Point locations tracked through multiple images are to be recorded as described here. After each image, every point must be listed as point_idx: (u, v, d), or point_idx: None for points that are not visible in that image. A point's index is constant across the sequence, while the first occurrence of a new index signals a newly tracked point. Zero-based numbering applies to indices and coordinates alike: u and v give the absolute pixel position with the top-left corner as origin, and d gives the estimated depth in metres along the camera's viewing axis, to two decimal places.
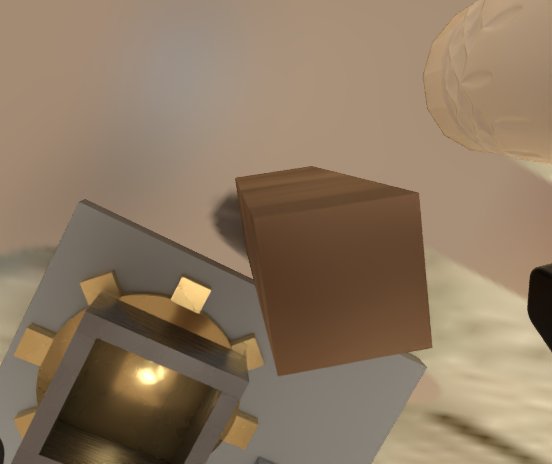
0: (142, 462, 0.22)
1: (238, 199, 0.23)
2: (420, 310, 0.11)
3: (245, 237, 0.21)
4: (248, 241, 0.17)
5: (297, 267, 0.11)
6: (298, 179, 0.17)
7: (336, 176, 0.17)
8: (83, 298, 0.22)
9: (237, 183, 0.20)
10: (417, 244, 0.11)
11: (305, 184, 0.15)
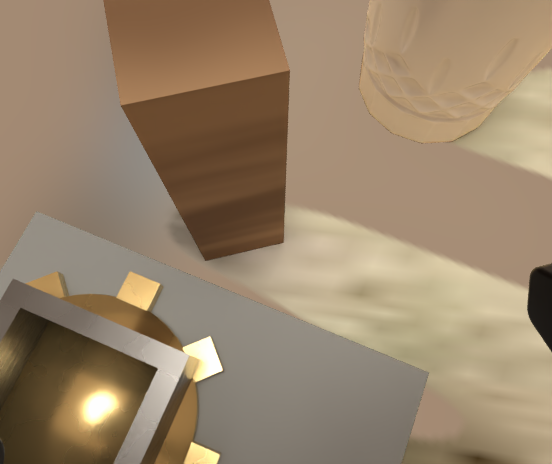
0: None
1: None
2: (270, 36, 0.11)
3: None
4: None
5: (140, 6, 0.11)
6: None
7: None
8: None
9: None
10: None
11: None
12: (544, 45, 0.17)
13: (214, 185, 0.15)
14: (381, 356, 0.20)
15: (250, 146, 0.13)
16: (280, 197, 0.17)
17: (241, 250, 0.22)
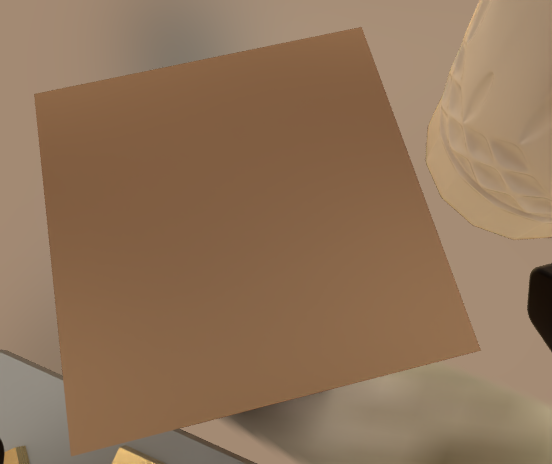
0: None
1: None
2: (423, 256, 0.05)
3: None
4: None
5: (122, 178, 0.05)
6: None
7: None
8: None
9: None
10: (380, 114, 0.05)
11: None
12: None
13: None
14: None
15: None
16: None
17: None
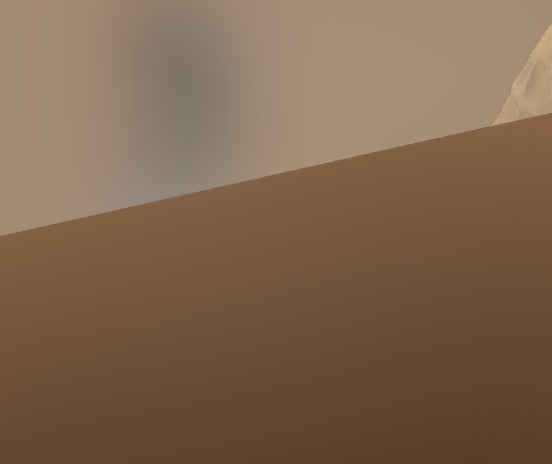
0: None
1: None
2: None
3: None
4: None
5: None
6: None
7: None
8: None
9: None
10: None
11: None
12: None
13: None
14: None
15: None
16: None
17: None
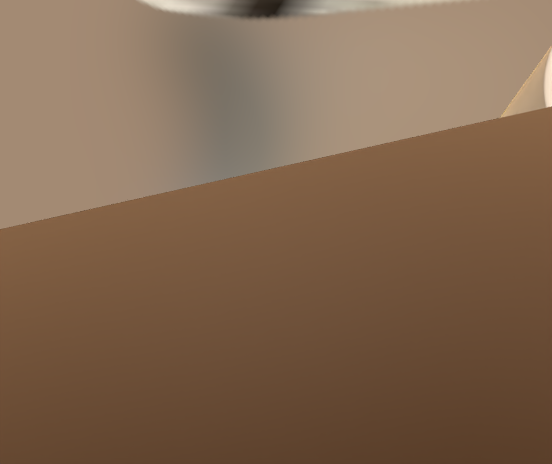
0: None
1: None
2: None
3: None
4: None
5: None
6: None
7: None
8: None
9: None
10: None
11: None
12: None
13: None
14: None
15: None
16: None
17: None
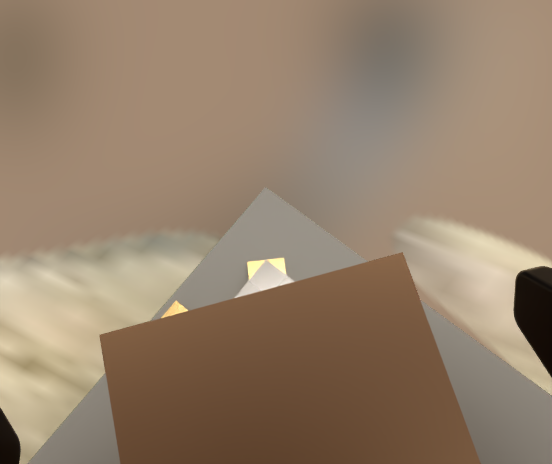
0: None
1: None
2: None
3: None
4: None
5: (189, 425, 0.05)
6: None
7: None
8: (242, 287, 0.19)
9: None
10: (426, 349, 0.05)
11: None
12: None
13: None
14: None
15: None
16: None
17: None
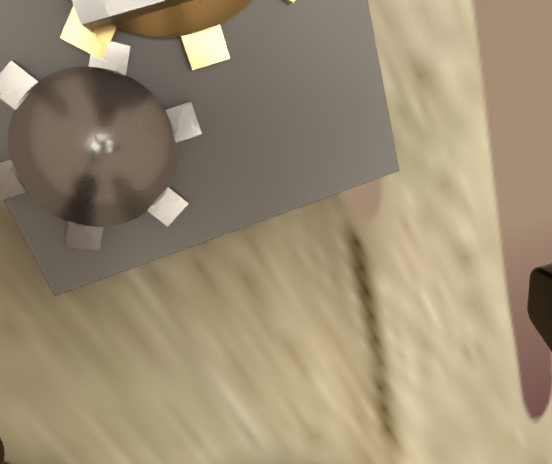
0: None
1: None
2: None
3: None
4: None
5: None
6: None
7: None
8: None
9: None
10: None
11: None
12: None
13: None
14: (388, 128, 0.20)
15: None
16: None
17: None
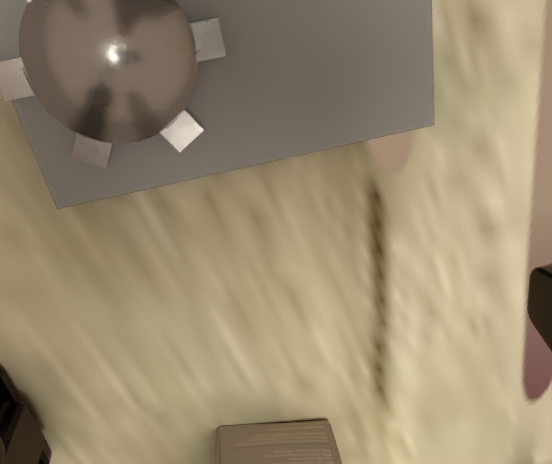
0: None
1: None
2: None
3: None
4: None
5: None
6: None
7: None
8: None
9: None
10: None
11: None
12: None
13: None
14: (430, 76, 0.19)
15: None
16: None
17: None
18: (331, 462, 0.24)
